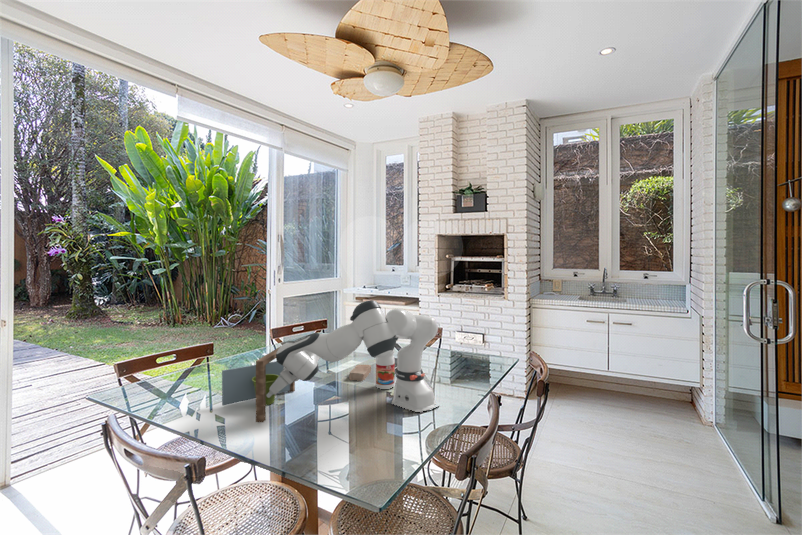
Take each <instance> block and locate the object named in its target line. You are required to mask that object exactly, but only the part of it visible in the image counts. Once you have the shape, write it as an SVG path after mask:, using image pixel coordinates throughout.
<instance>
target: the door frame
mask: <svg viewBox="0 0 802 535" xmlns="http://www.w3.org/2000/svg"><path fill="white" fill-rule="evenodd" d="M288 342H291V340H290V341H289V340H288ZM281 346H282V345H280V346H278V347H277V348H275V349H274V350H272V351H271V352H269V353H267V354H265V355H264V356H262V357H261V358H258V359H257V360H256V361H255V365H256V398H255V423H264V422H265V421H266V420H267V419H266V416H267V414H266V409H267V407H266V406H267V405H266V364H268V363H269V362H273V361H274V360H275V359H276V352H277V351H278V349H279V348H280V347H281ZM295 382H296V381H295ZM295 382H293V383H291V386H290V391H287V392H286V393H294V392H295V391H296V383H295Z"/></svg>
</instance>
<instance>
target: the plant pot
mask: <svg viewBox="0 0 802 535" xmlns="http://www.w3.org/2000/svg"><path fill="white" fill-rule="evenodd" d="M278 377H279V376H278V375H275V374H266V395H267V394H268V393H269V391H270V390H269V388H270V387H271V385H272V384H273V383H274V382H275V381H276V379H277V378H278ZM252 381H253V384H254V387H255V394H256V376H255V377H253V378H252ZM275 398H276V394H275V395H274V394H273V395H272V396H271V397H270V398H268V397H267V396H266V406H270V405H272V404H274V403H275Z"/></svg>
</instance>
